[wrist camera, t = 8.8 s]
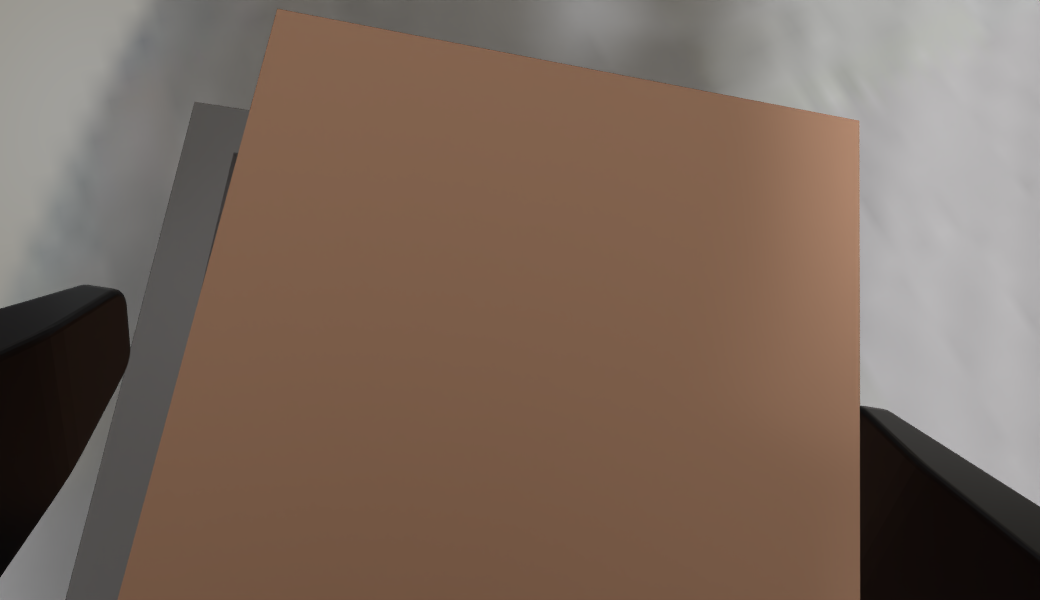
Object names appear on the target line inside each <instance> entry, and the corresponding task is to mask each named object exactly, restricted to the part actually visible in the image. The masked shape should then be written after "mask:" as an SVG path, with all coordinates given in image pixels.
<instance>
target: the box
mask: <svg viewBox="0 0 1040 600" xmlns="http://www.w3.org/2000/svg"><path fill="white" fill-rule="evenodd" d="M249 111H250V110H244V109H237V108H231V107H224V106H218V105H211V104H205V103H198V102H195V103H194V106H193V110H192V114H191V118H190V122H189V126H188V130H187V133H186V137H185V141H184V145H183V149H182V153H181V157H180V160H179V164H178V168H177V172H176V176H175V180H174V183H173V187H172V191H171V195H170V199H169V203H168V207H167V210H166V214H165V218H164V222H163V226H162V230H161V234H160V237H159V241H158V245H157V249H156V253H155V257H154V261H153V264H152V268H151V272H150V276H149V280H148V284H147V287H146V291H145V295H144V299H143V303H142V307H141V311H140V314H139V318H138V322H137V326H136V330H135V334H134V338H133V341H132V345H131V349H130V358H129V362H128V365H127V368H126V370H125V372H124V376H123V380H122V384H121V388H120V391H119V395H118V399H117V403H116V407H115V411H114V415H113V418H112V422H111V426H110V430H109V434H108V438H107V442H106V445H105V449H104V453H103V457H102V461H101V465H100V468H99V472H98V476H97V480H96V484H95V488H94V492H93V495H92V499H91V503H90V507H89V511H88V515H87V519H86V522H85V526H84V530H83V534H82V538H81V542H80V546H79V549H78V553H77V557H76V561H75V565H74V569H73V572H72V576H71V580H70V584H69V588H68V592H67V596H66V599H65V600H118V596H119V592H120V589H121V585H122V581H123V577H124V574H125V570H126V566H127V563H128V559H129V555H130V552H131V548H132V544H133V540H134V537H135V533H136V529H137V526H138V522H139V518H140V515H141V511H142V507H143V503H144V500H145V496H146V492H147V489H148V485H149V481H150V478H151V474H152V470H153V466H154V463H155V459H156V455H157V452H158V448H159V444H160V441H161V437H162V433H163V429H164V426H165V422H166V418H167V415H168V411H169V407H170V404H171V400H172V396H173V392H174V389H175V385H176V381H177V378H178V374H179V370H180V367H181V363H182V359H183V355H184V352H185V348H186V344H187V341H188V337H189V333H190V330H191V326H192V322H193V318H194V315H195V311H196V307H197V304H198V300H199V296H200V293H201V289H202V285H203V281H204V278H205V274H206V270H207V267H208V263H209V259H210V256H211V252H212V248H213V245H214V241H215V237H216V233H217V230H218V226H219V222H220V219H221V215H222V211H223V208H224V204H225V200H226V196H227V193H228V189H229V185H230V182H231V178H232V174H233V171H234V167H235V163H236V159H237V156H238V152H239V148H240V145H241V141H242V137H243V134H244V130H245V126H246V122H247V119H248V115H249Z"/></svg>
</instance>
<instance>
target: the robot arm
mask: <svg viewBox="0 0 1040 600" xmlns="http://www.w3.org/2000/svg"><path fill="white" fill-rule="evenodd" d="M129 358H130V340H129V328H128V316H127V305H126V300H125V297H124V295H123V294H122V293H121V292H120V291H119V290H117V289H112V288H106V287H100V286H93V285H80V286H77V287H73V288H70V289H66V290H63V291H59V292H56V293H53V294H49V295H46V296H42V297H39V298H35V299H32V300H29V301H25V302H22V303H18V304H15V305H11V306H8V307H5V308H1V309H0V577H1V575H2V574H3V573H4V571H5V570H6V568H7V567H8V565H9V564H10V562H11V561H12V559H13V558H14V557H15V555H16V554H17V552H18V551H19V549H20V548H21V546H22V545H23V543H24V542H25V540H26V539H27V538H28V536H29V535H30V533H31V532H32V530H33V529H34V527H35V526H36V524H37V523H38V522H39V520H40V519H41V517H42V516H43V514H44V513H45V511H46V510H47V508H48V507H49V506H50V504H51V503H52V501H53V500H54V498H55V497H56V495H57V494H58V492H59V491H60V489H61V488H62V486H63V485H64V483H65V482H66V480H67V479H68V477H69V475H70V474H71V472H72V470H73V469H74V467H75V465H76V463H77V462H78V460H79V458H80V456H81V454H82V452H83V451H84V449H85V447H86V445H87V443H88V441H89V439H90V437H91V435H92V433H93V431H94V430H95V428H96V426H97V424H98V422H99V420H100V418H101V416H102V414H103V412H104V411H105V409H106V407H107V405H108V403H109V401H110V399H111V397H112V395H113V393H114V391H115V390H116V388H117V386H118V384H119V382H120V380H121V378H122V376H123V374H124V372H125V370H126V368H127V365H128V362H129ZM860 600H1040V506H1038V505H1036V504H1035V503H1033V502H1032V501H1030V500H1028V499H1027V498H1025V497H1024V496H1022V495H1021V494H1019V493H1017V492H1016V491H1014V490H1013V489H1011V488H1010V487H1008V486H1006V485H1005V484H1003V483H1002V482H1000V481H999V480H997V479H995V478H994V477H992V476H991V475H989V474H988V473H986V472H984V471H983V470H981V469H980V468H978V467H976V466H975V465H973V464H972V463H970V462H969V461H967V460H965V459H964V458H962V457H961V456H959V455H958V454H956V453H954V452H953V451H951V450H950V449H948V448H947V447H945V446H943V445H942V444H940V443H939V442H937V441H936V440H934V439H932V438H931V437H929V436H928V435H926V434H924V433H923V432H921V431H920V430H918V429H917V428H915V427H913V426H912V425H910V424H909V423H907V422H906V421H904V420H902V419H901V418H899V417H898V416H896V415H895V414H893V413H891V412H890V411H888V410H884V409H880V408H873V407H867V406H860Z"/></svg>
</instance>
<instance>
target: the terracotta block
mask: <svg viewBox="0 0 1040 600" xmlns="http://www.w3.org/2000/svg"><path fill="white" fill-rule="evenodd" d="M118 600H860V258H859V121H858V120H852V119H847V118H842V117H837V116H832V115H826V114H821V113H816V112H811V111H806V110H800V109H795V108H790V107H785V106H780V105H775V104H769V103H764V102H759V101H754V100H749V99H743V98H738V97H733V96H728V95H723V94H717V93H712V92H707V91H702V90H697V89H691V88H686V87H681V86H676V85H671V84H666V83H660V82H655V81H650V80H645V79H640V78H634V77H629V76H624V75H619V74H614V73H608V72H603V71H598V70H593V69H588V68H583V67H577V66H572V65H567V64H562V63H557V62H551V61H546V60H541V59H536V58H531V57H525V56H520V55H515V54H510V53H505V52H499V51H494V50H489V49H484V48H479V47H474V46H468V45H463V44H458V43H453V42H448V41H442V40H437V39H432V38H427V37H422V36H416V35H411V34H406V33H401V32H396V31H390V30H385V29H380V28H375V27H370V26H365V25H359V24H354V23H349V22H344V21H339V20H333V19H328V18H323V17H318V16H313V15H307V14H302V13H297V12H292V11H287V10H281V9H277V11H276V15H275V19H274V23H273V26H272V30H271V34H270V37H269V41H268V45H267V48H266V52H265V56H264V60H263V63H262V67H261V71H260V74H259V78H258V82H257V85H256V89H255V93H254V97H253V100H252V104H251V108H250V111H249V115H248V119H247V122H246V126H245V130H244V134H243V137H242V141H241V145H240V148H239V152H238V156H237V159H236V163H235V167H234V171H233V174H232V178H231V182H230V185H229V189H228V193H227V196H226V200H225V204H224V208H223V211H222V215H221V219H220V222H219V226H218V230H217V233H216V237H215V241H214V245H213V248H212V252H211V256H210V259H209V263H208V267H207V270H206V274H205V278H204V281H203V285H202V289H201V293H200V296H199V300H198V304H197V307H196V311H195V315H194V318H193V322H192V326H191V330H190V333H189V337H188V341H187V344H186V348H185V352H184V355H183V359H182V363H181V367H180V370H179V374H178V378H177V381H176V385H175V389H174V392H173V396H172V400H171V404H170V407H169V411H168V415H167V418H166V422H165V426H164V429H163V433H162V437H161V441H160V444H159V448H158V452H157V455H156V459H155V463H154V466H153V470H152V474H151V478H150V481H149V485H148V489H147V492H146V496H145V500H144V503H143V507H142V511H141V515H140V518H139V522H138V526H137V529H136V533H135V537H134V540H133V544H132V548H131V552H130V555H129V559H128V563H127V566H126V570H125V574H124V577H123V581H122V585H121V589H120V592H119V596H118Z"/></svg>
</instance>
